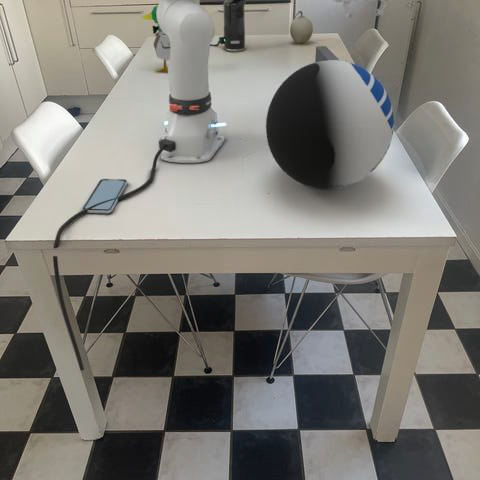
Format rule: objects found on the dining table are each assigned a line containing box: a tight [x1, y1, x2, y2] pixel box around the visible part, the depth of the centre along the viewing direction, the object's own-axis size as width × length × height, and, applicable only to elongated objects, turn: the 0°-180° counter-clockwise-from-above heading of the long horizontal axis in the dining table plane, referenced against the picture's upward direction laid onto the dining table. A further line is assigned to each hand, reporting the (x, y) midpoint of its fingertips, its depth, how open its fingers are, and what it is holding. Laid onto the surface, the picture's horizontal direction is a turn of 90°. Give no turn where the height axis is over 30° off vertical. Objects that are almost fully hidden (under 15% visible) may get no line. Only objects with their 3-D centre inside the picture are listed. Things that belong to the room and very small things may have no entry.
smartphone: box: [81, 178, 128, 214], centre depth 127 cm, size 7×1×15 cm
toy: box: [141, 4, 171, 73], centre depth 204 cm, size 8×20×24 cm, turn 69°
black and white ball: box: [265, 59, 395, 190], centre depth 123 cm, size 30×30×30 cm
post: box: [314, 45, 341, 63], centre depth 188 cm, size 52×4×8 cm, turn 7°
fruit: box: [289, 10, 314, 44], centre depth 238 cm, size 10×12×15 cm
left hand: (364, 16), depth 157 cm, fingers open, 8 cm apart
